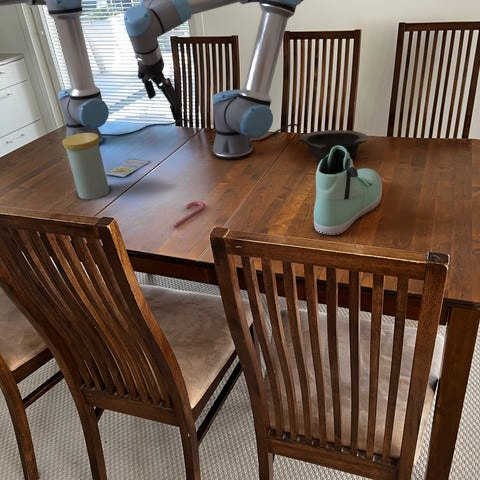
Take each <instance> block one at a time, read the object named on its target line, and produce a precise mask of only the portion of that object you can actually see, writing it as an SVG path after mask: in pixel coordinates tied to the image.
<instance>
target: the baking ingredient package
mask: <svg viewBox="0 0 480 480" xmlns="http://www.w3.org/2000/svg"><path fill="white" fill-rule="evenodd" d="M146 164H149V161H146V160H139V159H131V158H129V159H128V160H126V161H124V162H122V163H120V164H119V165H118V166H116V167H114V168H111V169H110V170H108V171H107V172H105V174H106V175H109V176H116V177H123V178H124V177H126V176H128V175H130V174H131V173H134V171H136V170H137V169H139V168H141V167H143V166H144V165H146Z"/></svg>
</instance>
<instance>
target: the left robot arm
mask: <svg viewBox="0 0 480 480" xmlns="http://www.w3.org/2000/svg"><path fill="white" fill-rule="evenodd" d="M82 1H83V0H0V7H3V6H10V5H18V4H20V5H21V4H26V5H28V6H46V9H47V12H48V16H50V18H52V19H53V20H54V22H55V27H56V30H57V34H58V39H59V43H60V46H61V50H62V54H63V58H64V62H65V66H66V70H67V74H68V75H67V76H68V78H69V82H70V87H69V88H66V89H61V90H60V91H58V93H57V95H58V102H59V105H60V107H61V113H62V116H63V119H64V123H65V126H66V133H65V138H67V137H69V136H72V135H75V134H80V133H95V134H97V135H98V137H99V143H98V144H99V145H102V143H104V137H120V136H121V137H123V136H127V135H132V134H135V133H139V132H141V131H143V130H145V129H147V128H151V127H155V126H172V125H176V124H178V123H181V122H182V121H187V123H188V122H191V120H189V119H188V118H181V119H179V120H178V119H177V121H176V120H175V121H174V122H165V123H163V122H162V123H161V122H159V123H152V124H148V125H145V126H142V127H141V128H139V129H136V130H132V131H128V132H123V133H118V134H112V133H102V132H101V130H100V129H99V128H101V127H102V126H103V125H105V123H106V122H107V121H108V119H109V117H110V110H109V107H108V104H107V103H106V101H104V100H103V96H102V92H101V89H100V88H99V87H98V86H97V85H96V84H95V79H94V75H93V70H92V65H91V61H90V56H89V53H88V52H89V51H88V47H87V44H86V43H87V42H86V39H85V34H84V30H83V26H82V21H81V15H82V14H83V12H84V10H83V5H82Z"/></svg>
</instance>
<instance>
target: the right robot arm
mask: <svg viewBox="0 0 480 480" xmlns="http://www.w3.org/2000/svg"><path fill="white" fill-rule="evenodd" d="M303 1H304V0H139V2H138V5H137V4H136V6H134V5H132V6H130V7H128V8H127V9H126V10H125V12H124V13H123V22H124V26H125V30H126V33H127V36H128V38H129V40H130V41H129V42H130V43H131V46H132V49H133V52H134V58H135V59H136V61H137V62H136V63H137V66H138V67H137V78H138V79H139V80H141V83H142V84H143V86H144V89H145V92H146V95H147V97H148V99H149V100H152V99H153V98H154V97H156V96H157V93H156V90H155V87H154V84H155V86H156V87H157V89H158V90H160V91H161V92H162V94H163V96H164V97H165V99H166V100H167V102H168V103H169V109H170V112H171V115H172V119H173V121H176V120H177V121H178V119H180V118H181V117H182V114H181V110H180V108H181V106H183V102H182V101H181V98H180V97H179V95H178V94H177V91H176V89H175V88H174V86H173V83H172V81H171V78H169V77H166V76H165V74H164V68H165V62H164V58H163V54H162V50H161V47H160V44H159V39H158V38H159V37H161V36H163V35H165V34H167V33H168V32H170V31H172V30H174V29H175V28H177V27H179V26H181V25H184V24H185V23H186V22H188V21H189V20H190V19H191V18H192V16H193V15H196V14H199V13H203V12H207V11H211V10H215V9H218V8H223V7H226V6H229V5H233V4H237V3H239V4H241V5H245V4H246V5H247V4H250V3H259V5H258V6H259V8H260V10H261V15H260V18H259V19H260V20H259V24H258V27H257V31H256V32H257V33H256V35H255V36H256V37H255V41H254V45H253V47H252V48H253V49H252V54H251V57H250V61H249V66H248V69H247V73H246V78H245V82H244V86H243V88H242V89H230V90H229V89H228V90H223V91H219V92H217V93H215V94H214V95H213V97H212V108H213V109H212V110H213V117H214V127H215V138H214V141H213V147H212V155H213V156H214V157H215V158H217V159H219V160H227V161H232V160H240V159H244V158H247V157H249V156H251V155H252V154H253V152H254V146H253V143H258V142H259V143H260V142H262V141H265V140H267V139H269V138H271V137H273V136H274V135H276V134H277V133H279V132H281V131H283V130H286V129H287V128H289V127H293V126H295V127H296V128H297V127H298V128H299V127H300V126H299V124H297V123H289V124H287V125H285V126H283V127H280V128H278V129H277V130H275V131H274V132H272V133H271V134H268V135H266V134H267V133H268V132H269V131H270V129H271V127H272V125H273V122H274V114H273V111H272V109H271V104H272V99H271V96H270V95H269V94H270V91H271V86H272V84H273V83H272V82H273V79H274V76H275V70H276V68H277V67H276V66H277V64H278V59H279V56H280V52H281V48H282V44H283V39H284V36H285V32H286V30H287V29H286V28H287V24H288V21H289V19H290V18H292V17H293V16H294V15H295V12H296V8H297V6H299V5H301V3H302V2H303ZM153 83H154V84H153ZM264 135H266V136H264ZM263 136H264V137H263ZM261 137H263V138H261ZM258 138H259V139H258ZM251 139H252V140H251Z"/></svg>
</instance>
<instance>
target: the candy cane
mask: <svg viewBox="0 0 480 480" xmlns="http://www.w3.org/2000/svg"><path fill="white" fill-rule="evenodd" d="M193 207H197V208H196V209H194V210H192V212H190V213H188V214H187V215H186V216H184V217H182V218H181V219H179V220H178V221H176V222H175V223H173V227H174V228H175V229H177V228H179V227H180V226H182V225H184V224H185V223H186V222H188V221H189V220H191V219H193V218H194V217H196V216H197V215H198V214H200V213H202V212H203V211H204V210H206V207H207V206H206V204H205V203H204V202H203V201H200V200H199V201H198V200H197V201H191V202H189V203H187V204H186V205H185V208H186V209H187V210H190V209H191V208H193Z"/></svg>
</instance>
